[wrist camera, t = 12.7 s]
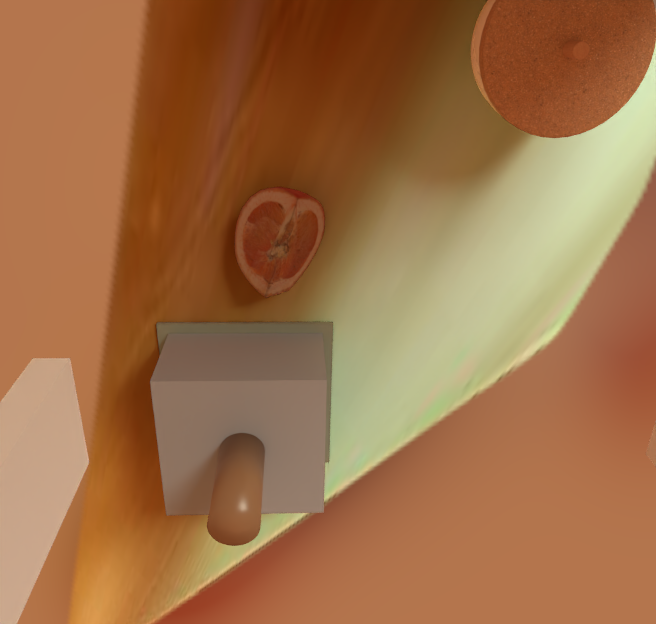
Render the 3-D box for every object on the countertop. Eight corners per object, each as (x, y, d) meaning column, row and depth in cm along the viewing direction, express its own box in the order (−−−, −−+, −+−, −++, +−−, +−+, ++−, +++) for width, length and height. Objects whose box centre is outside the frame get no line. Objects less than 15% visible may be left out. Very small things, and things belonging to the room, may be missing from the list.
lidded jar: (470, 138, 48) (508, 166, 39) (438, -13, 43) (473, -17, 35) (609, 92, 47) (679, 111, 38) (592, -67, 42) (666, -85, 34)
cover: (322, 333, 54) (332, 447, 40) (320, 454, 60) (328, 591, 46) (168, 333, 53) (123, 449, 39) (180, 456, 59) (146, 596, 45)
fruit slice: (302, 284, 52) (303, 310, 48) (224, 260, 51) (218, 285, 47) (336, 192, 49) (340, 210, 45) (254, 164, 48) (250, 180, 43)
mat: (332, 321, 54) (332, 323, 54) (328, 459, 61) (329, 462, 60) (157, 322, 53) (156, 324, 53) (172, 461, 60) (171, 464, 59)
